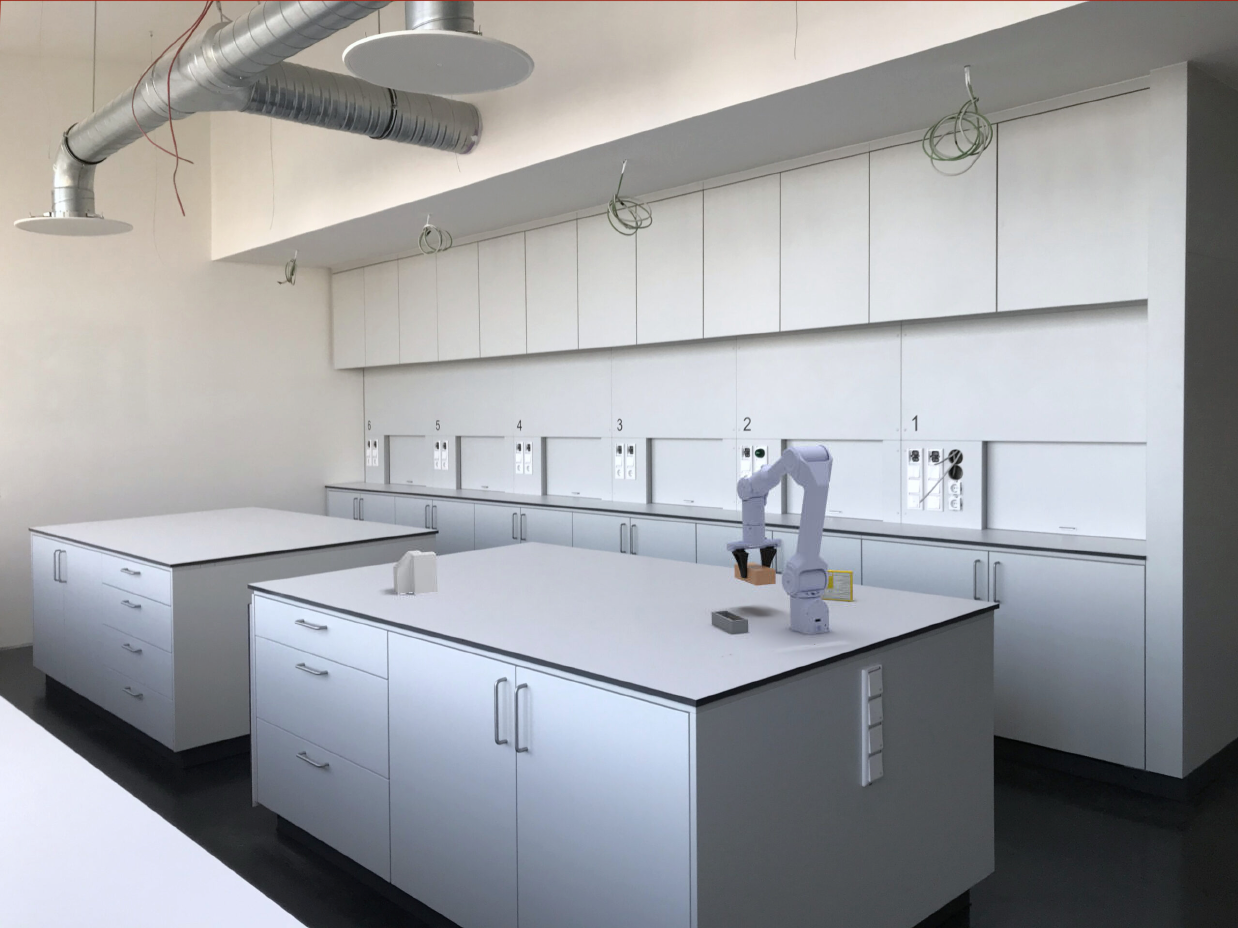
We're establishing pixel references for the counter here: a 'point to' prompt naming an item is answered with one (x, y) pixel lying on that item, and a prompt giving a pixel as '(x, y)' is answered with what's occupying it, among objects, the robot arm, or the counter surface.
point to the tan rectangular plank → (757, 574)
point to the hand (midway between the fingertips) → (754, 576)
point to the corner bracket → (416, 573)
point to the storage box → (729, 622)
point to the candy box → (839, 586)
